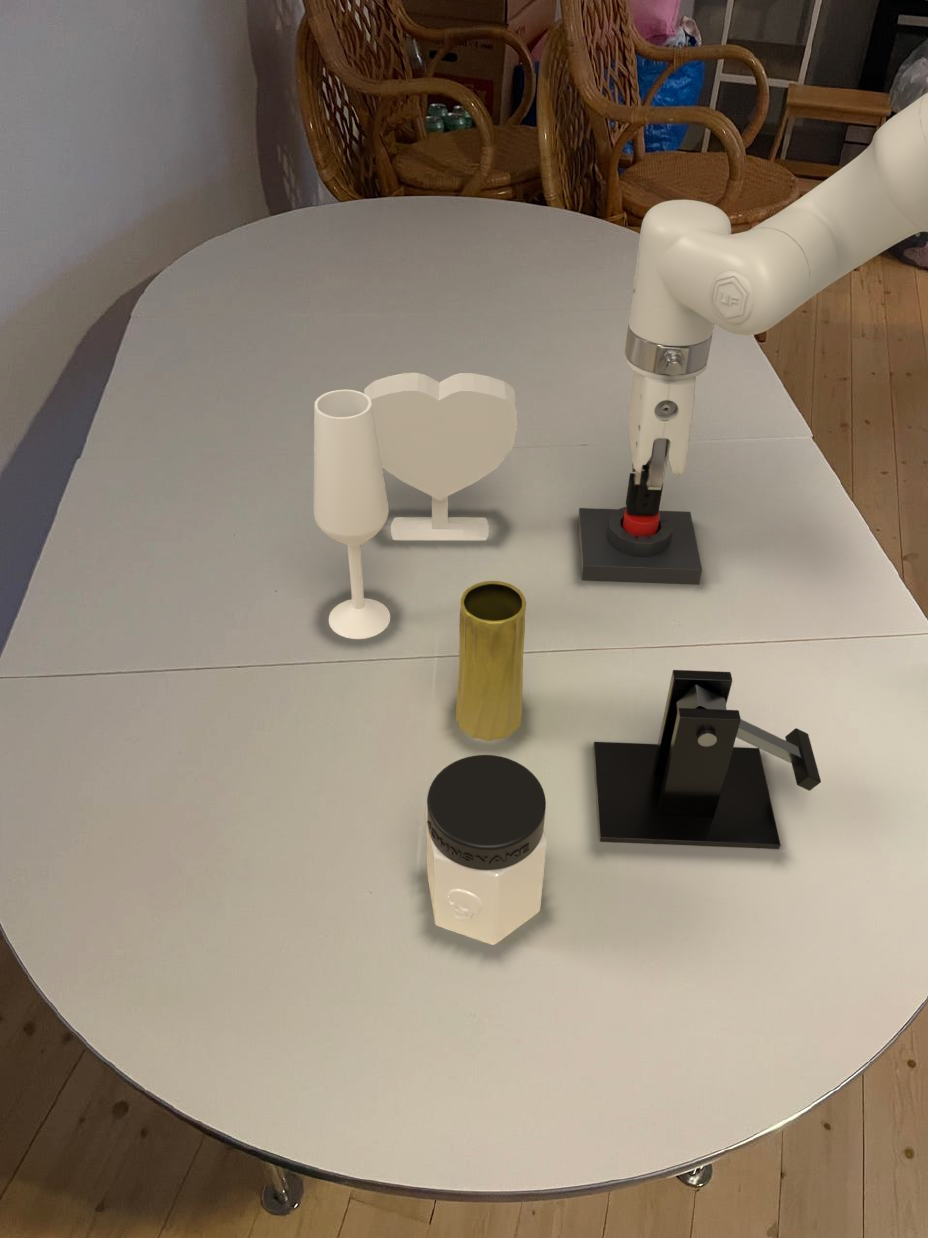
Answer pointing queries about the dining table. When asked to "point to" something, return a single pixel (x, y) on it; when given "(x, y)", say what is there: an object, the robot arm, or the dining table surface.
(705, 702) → the lever
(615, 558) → the switch block
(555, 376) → the dining table surface
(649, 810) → the bracket
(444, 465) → the heart sculpture
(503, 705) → the vase
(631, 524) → the button
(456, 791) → the jar
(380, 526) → the champagne flute
